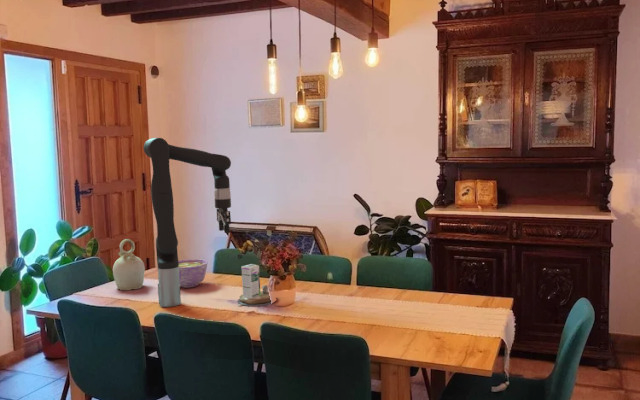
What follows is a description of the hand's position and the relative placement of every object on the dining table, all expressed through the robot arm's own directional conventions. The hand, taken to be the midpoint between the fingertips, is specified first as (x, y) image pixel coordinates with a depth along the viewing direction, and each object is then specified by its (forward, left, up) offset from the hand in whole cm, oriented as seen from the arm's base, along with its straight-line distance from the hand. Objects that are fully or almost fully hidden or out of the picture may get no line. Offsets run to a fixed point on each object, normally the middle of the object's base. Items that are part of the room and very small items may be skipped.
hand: (224, 231), depth 286 cm
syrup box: (+5, -21, -28) cm, 35 cm away
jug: (-39, +39, -30) cm, 63 cm away
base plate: (+8, -20, -30) cm, 37 cm away
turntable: (+8, -20, -30) cm, 37 cm away
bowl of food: (-12, +26, -30) cm, 42 cm away
